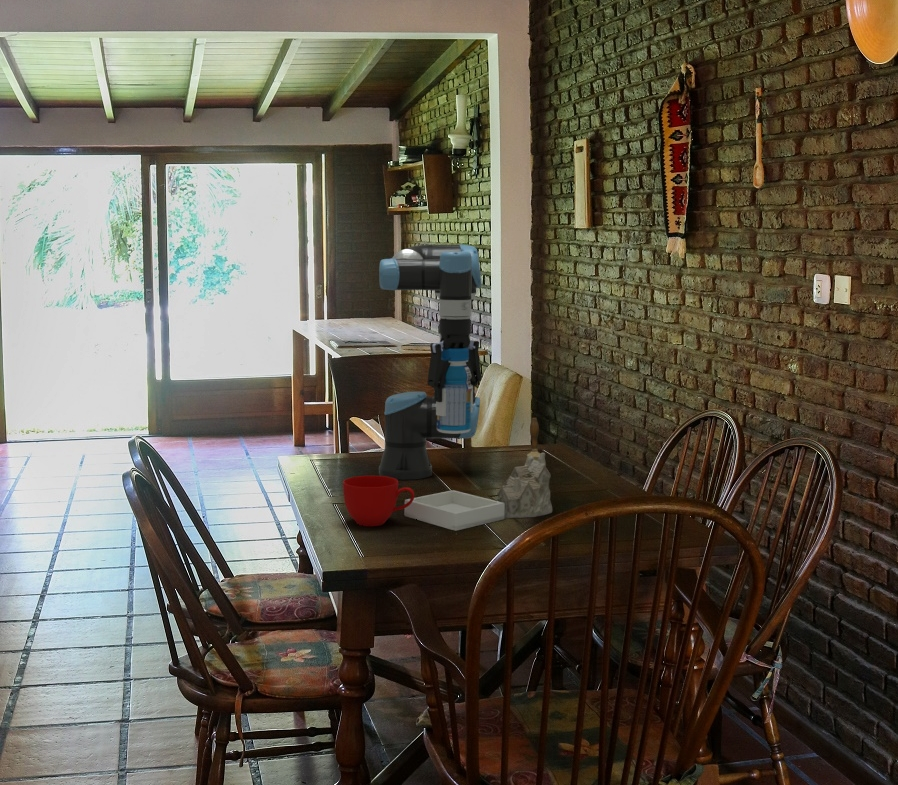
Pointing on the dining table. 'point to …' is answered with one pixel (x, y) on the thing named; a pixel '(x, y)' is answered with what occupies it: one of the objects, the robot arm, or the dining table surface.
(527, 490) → the ceramic cottage
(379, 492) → the ceramic cup
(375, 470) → the dining table surface
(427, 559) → the dining table surface
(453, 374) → the beverage bottle
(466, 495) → the tray
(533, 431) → the hand bell
